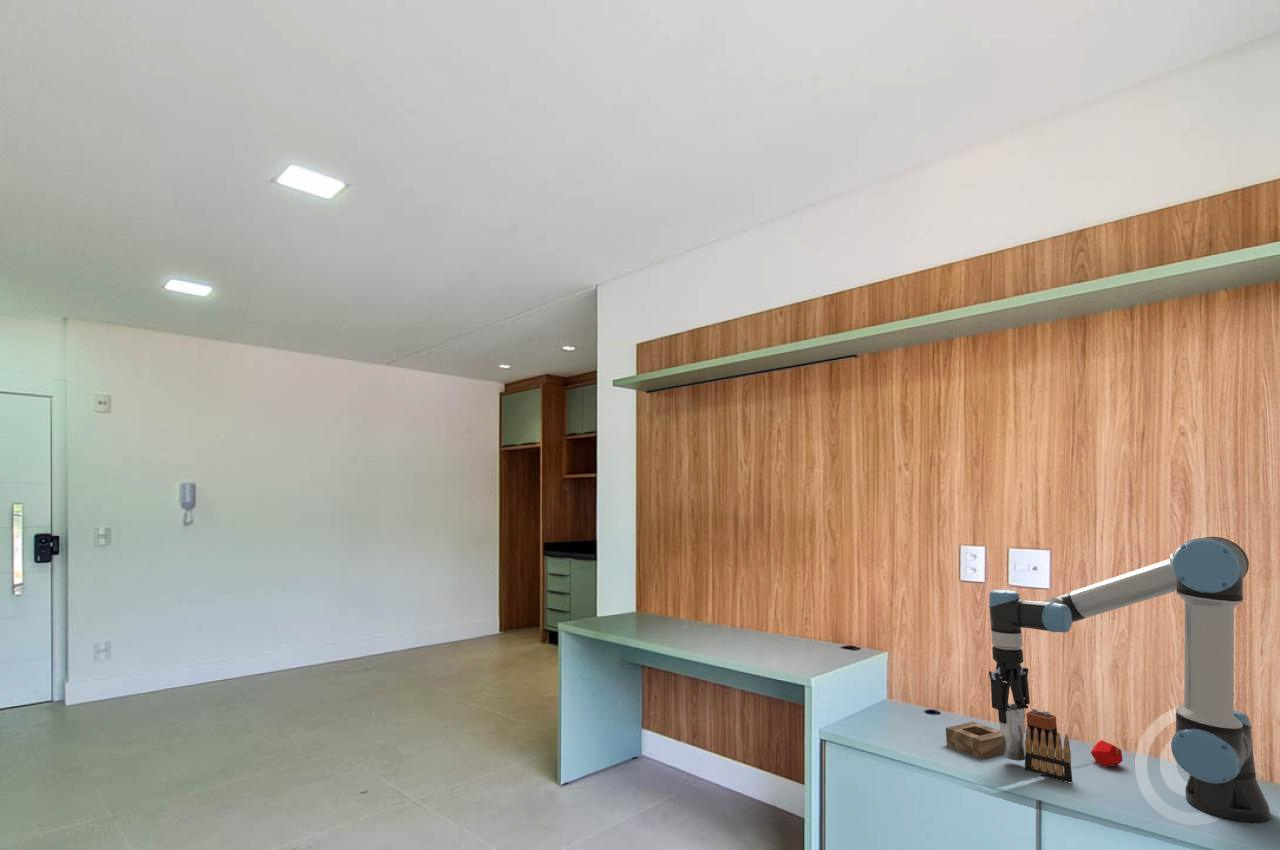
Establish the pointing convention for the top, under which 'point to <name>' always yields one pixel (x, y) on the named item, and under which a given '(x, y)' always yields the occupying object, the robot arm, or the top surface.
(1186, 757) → the robot arm
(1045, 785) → the top surface
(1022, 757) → the silver metal cylinder
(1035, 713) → the battery
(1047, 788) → the top surface
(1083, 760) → the top surface
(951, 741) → the box
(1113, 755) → the apple
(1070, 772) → the ammunition clip
